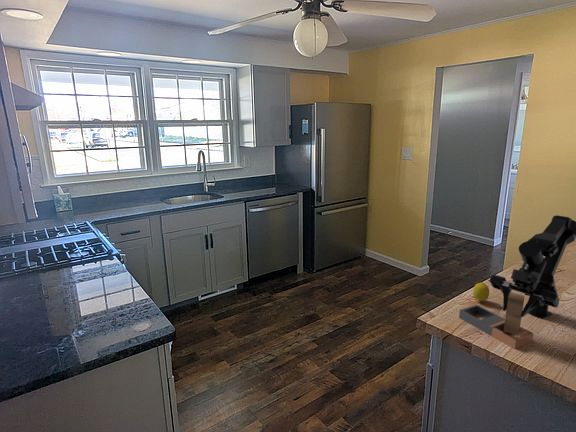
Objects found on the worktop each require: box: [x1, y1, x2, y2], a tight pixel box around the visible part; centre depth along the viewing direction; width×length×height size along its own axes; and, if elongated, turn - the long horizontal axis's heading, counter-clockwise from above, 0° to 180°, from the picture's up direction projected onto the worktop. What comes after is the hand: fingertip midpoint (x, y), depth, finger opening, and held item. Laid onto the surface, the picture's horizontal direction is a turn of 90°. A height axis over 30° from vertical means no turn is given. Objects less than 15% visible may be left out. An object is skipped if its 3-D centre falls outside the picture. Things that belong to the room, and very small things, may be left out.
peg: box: [503, 292, 525, 336], centre depth 115 cm, size 4×4×12 cm
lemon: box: [472, 282, 490, 302], centre depth 139 cm, size 6×6×8 cm
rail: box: [458, 304, 535, 350], centre depth 122 cm, size 8×21×3 cm, turn 24°
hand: (512, 313), depth 114 cm, fingers closed on peg, 5 cm apart
